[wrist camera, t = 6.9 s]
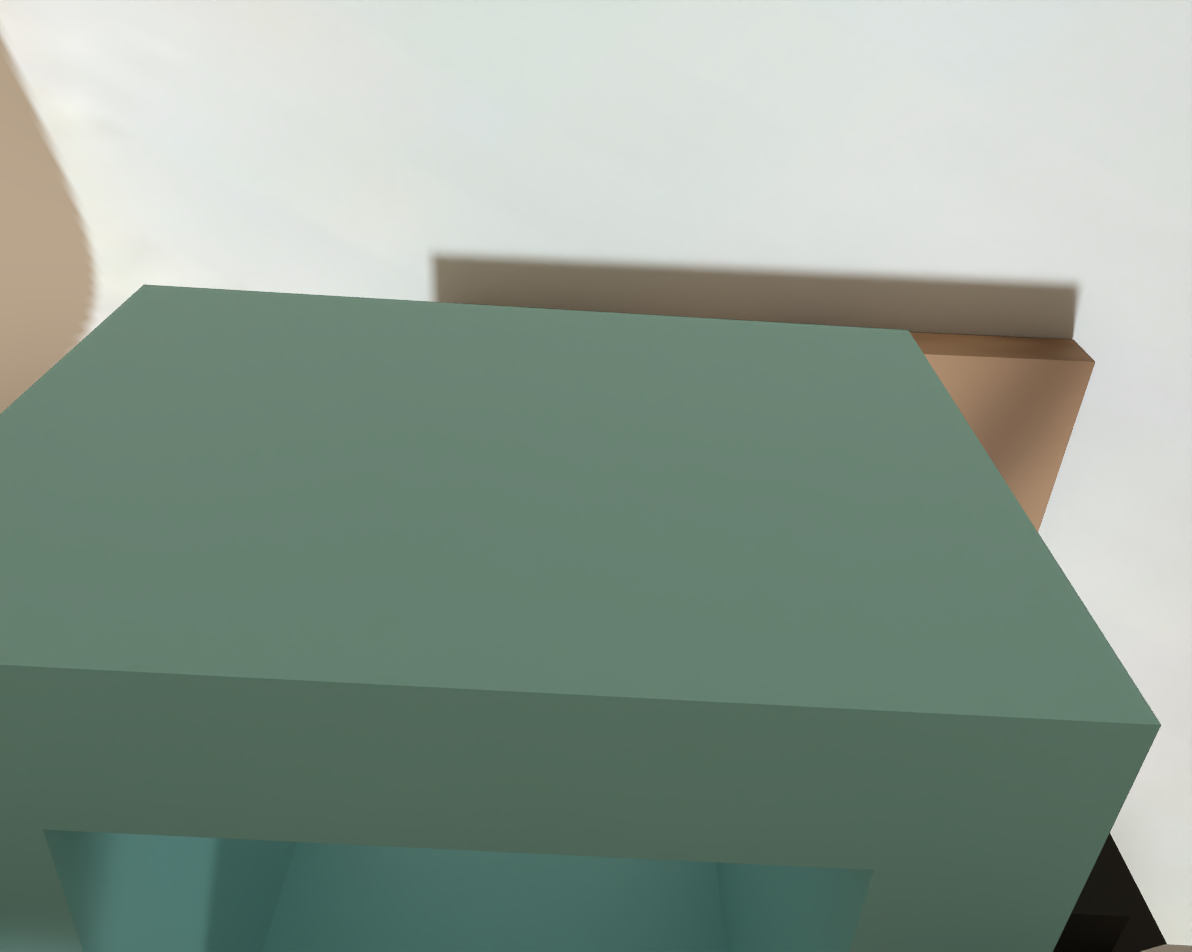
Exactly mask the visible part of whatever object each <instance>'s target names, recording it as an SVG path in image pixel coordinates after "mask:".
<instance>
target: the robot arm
mask: <svg viewBox="0 0 1192 952" xmlns="http://www.w3.org/2000/svg"><path fill="white" fill-rule="evenodd" d="M1053 952H1192V946H1187V945H1169V944H1167V943H1166V941H1165V939H1164V937H1163V935H1162V933H1161V932H1160V930H1159V928H1158V926H1157V924H1156V922H1155V920H1154V918H1153V916H1152V914H1151V912H1150V910H1149V908H1148V906H1147V904H1146V902H1145V900H1144V898H1143V896H1142V895H1141V893H1140V891H1139V889H1138V887H1137V885H1136V883H1135V881H1134V879H1133V877H1132V875H1131V873H1130V871H1129V869H1128V867H1127V865H1126V863H1125V861H1124V860H1123V858H1122V856H1121V854H1120V852H1119V850H1118V848H1117V846H1116V844H1115V842H1114V840H1113V838H1112V836H1111V834H1110V833H1109V835H1108V837H1107V839H1106V841H1105V843H1104V845H1103V848H1102V850H1101V852H1100V854H1099V856H1098V858H1097V860H1096V862H1095V864H1094V866H1093V868H1092V871H1091V873H1090V875H1089V877H1088V879H1087V881H1086V883H1085V885H1084V887H1083V889H1082V891H1081V894H1080V896H1079V898H1078V900H1077V902H1076V904H1075V906H1074V908H1073V910H1072V912H1071V914H1070V917H1069V919H1068V921H1067V923H1066V925H1065V927H1064V929H1063V931H1062V933H1061V935H1060V937H1059V940H1058V942H1057V944H1056V946H1055V948H1054V950H1053Z"/></svg>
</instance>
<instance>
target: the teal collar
mask: <svg viewBox="0 0 1192 952" xmlns="http://www.w3.org/2000/svg"><path fill="white" fill-rule="evenodd" d="M1160 726H1161V724H1160V722H1159V721H1158V719H1157V718H1156V716H1155V715H1154V713H1153V711H1152V710H1151V708H1150V707H1149V705H1148V704H1147V702H1146V701H1145V699H1144V697H1143V696H1142V694H1141V693H1140V691H1139V690H1138V688H1137V686H1136V685H1135V683H1134V682H1133V680H1132V679H1131V677H1130V676H1129V674H1128V672H1127V671H1126V669H1125V668H1124V666H1123V665H1122V663H1121V661H1120V660H1119V658H1118V657H1117V655H1116V654H1115V652H1114V651H1113V649H1112V647H1111V646H1110V644H1109V643H1108V641H1107V640H1106V638H1105V637H1104V635H1103V633H1102V632H1101V630H1100V629H1099V627H1098V626H1097V624H1096V622H1095V621H1094V619H1093V618H1092V616H1091V615H1090V613H1089V612H1088V610H1087V608H1086V607H1085V605H1084V604H1083V602H1082V601H1081V599H1080V597H1079V596H1078V594H1077V593H1076V591H1075V590H1074V588H1073V587H1072V585H1071V583H1070V582H1069V580H1068V579H1067V577H1066V576H1065V574H1064V572H1063V571H1062V569H1061V568H1060V566H1059V565H1058V563H1057V562H1056V560H1055V558H1054V557H1053V555H1052V554H1051V552H1050V551H1049V549H1048V547H1047V546H1046V544H1045V543H1044V541H1043V540H1042V538H1041V537H1040V535H1039V533H1038V532H1037V530H1036V529H1035V527H1034V526H1033V524H1032V522H1031V521H1030V519H1029V518H1028V516H1027V515H1026V513H1025V512H1024V510H1023V508H1022V507H1021V505H1020V504H1019V502H1018V501H1017V499H1016V497H1015V496H1014V494H1013V493H1012V491H1011V490H1010V488H1009V487H1008V485H1007V483H1006V482H1005V480H1004V479H1003V477H1002V476H1001V474H1000V472H999V471H998V469H997V468H996V466H995V465H994V463H993V462H992V460H991V458H990V457H989V455H988V454H987V452H986V451H985V449H984V447H983V446H982V444H981V443H980V441H979V440H978V438H977V437H976V435H975V433H974V432H973V430H972V429H971V427H970V426H969V424H968V422H967V421H966V419H965V418H964V416H963V415H962V413H961V412H960V410H959V408H958V407H957V405H956V404H955V402H954V401H953V399H952V397H951V396H950V394H949V393H948V391H947V390H946V388H945V387H944V385H943V383H942V382H941V380H940V379H939V377H938V376H937V374H936V372H935V371H934V369H933V368H932V366H931V365H930V363H929V362H928V360H927V358H926V357H925V355H924V354H923V352H922V351H921V349H920V347H919V346H918V344H917V343H916V341H915V340H914V338H913V337H912V335H911V333H910V332H909V330H897V329H880V328H864V327H847V326H830V325H813V324H796V323H780V322H763V321H746V320H729V319H712V318H696V317H679V316H662V315H645V314H628V313H611V312H595V311H578V310H561V309H544V308H527V307H511V306H494V305H477V304H460V303H443V302H427V301H410V300H393V299H376V298H359V297H342V296H326V295H309V294H292V293H275V292H258V291H242V290H225V289H208V288H191V287H174V286H158V285H143V286H142V287H141V288H140V289H139V290H137V291H136V292H135V293H134V294H133V295H132V296H131V297H130V298H129V299H128V300H126V301H125V302H124V303H123V304H122V305H121V306H120V307H119V308H118V309H116V310H115V311H114V312H113V313H112V314H111V315H110V316H109V317H108V318H106V319H105V320H104V321H103V322H102V323H101V324H100V325H99V326H98V327H96V328H95V329H94V330H93V331H92V332H91V333H90V334H89V335H88V336H86V337H85V338H84V339H83V340H82V341H81V342H80V343H79V344H78V345H76V346H75V347H74V348H73V349H72V350H71V351H70V352H69V353H68V354H66V355H65V356H64V357H63V358H62V359H61V360H60V361H59V362H58V363H57V364H55V365H54V366H53V367H52V368H51V369H50V370H49V371H48V372H47V373H45V374H44V375H43V376H42V377H41V378H40V379H39V380H38V381H37V382H35V383H34V384H33V385H32V386H31V387H30V388H29V389H28V390H27V391H25V392H24V393H23V394H22V395H21V396H20V397H19V398H18V399H17V400H15V401H14V402H13V403H12V404H11V405H10V406H9V407H8V408H7V409H5V410H4V411H3V412H2V413H1V414H0V952H1053V950H1054V948H1055V946H1056V944H1057V942H1058V940H1059V937H1060V935H1061V933H1062V931H1063V929H1064V927H1065V925H1066V923H1067V921H1068V919H1069V917H1070V914H1071V912H1072V910H1073V908H1074V906H1075V904H1076V902H1077V900H1078V898H1079V896H1080V894H1081V891H1082V889H1083V887H1084V885H1085V883H1086V881H1087V879H1088V877H1089V875H1090V873H1091V871H1092V868H1093V866H1094V864H1095V862H1096V860H1097V858H1098V856H1099V854H1100V852H1101V850H1102V848H1103V845H1104V843H1105V841H1106V839H1107V837H1108V835H1109V833H1110V831H1111V829H1112V827H1113V825H1114V822H1115V820H1116V818H1117V816H1118V814H1119V812H1120V810H1121V808H1122V806H1123V804H1124V802H1125V799H1126V797H1127V795H1128V793H1129V791H1130V789H1131V787H1132V785H1133V783H1134V781H1135V779H1136V776H1137V774H1138V772H1139V770H1140V768H1141V766H1142V764H1143V762H1144V760H1145V758H1146V756H1147V753H1148V751H1149V749H1150V747H1151V745H1152V743H1153V741H1154V739H1155V737H1156V735H1157V733H1158V730H1159V728H1160Z"/></svg>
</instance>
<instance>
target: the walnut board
mask: <svg viewBox="0 0 1192 952" xmlns="http://www.w3.org/2000/svg"><path fill="white" fill-rule="evenodd" d="M910 333H911V335H912V337H913V338H914V340H915V341H916V343H917V344H918V346H919V347H920V349H921V351H922V352H923V354H924V355H925V357H926V358H927V360H928V362H929V363H930V365H931V366H932V368H933V369H934V371H935V372H936V374H937V376H938V377H939V379H940V380H941V382H942V383H943V385H944V387H945V388H946V390H947V391H948V393H949V394H950V396H951V397H952V399H953V401H954V402H955V404H956V405H957V407H958V408H959V410H960V412H961V413H962V415H963V416H964V418H965V419H966V421H967V422H968V424H969V426H970V427H971V429H972V430H973V432H974V433H975V435H976V437H977V438H978V440H979V441H980V443H981V444H982V446H983V447H984V449H985V451H986V452H987V454H988V455H989V457H990V458H991V460H992V462H993V463H994V465H995V466H996V468H997V469H998V471H999V472H1000V474H1001V476H1002V477H1003V479H1004V480H1005V482H1006V483H1007V485H1008V487H1009V488H1010V490H1011V491H1012V493H1013V494H1014V496H1015V497H1016V499H1017V501H1018V502H1019V504H1020V505H1021V507H1022V508H1023V510H1024V512H1025V513H1026V515H1027V516H1028V518H1029V519H1030V521H1031V522H1032V524H1033V526H1034V527H1035V529H1036V530H1037V532H1038V530H1039V528H1040V525H1041V522H1042V519H1043V516H1044V513H1045V510H1046V507H1047V504H1048V501H1049V498H1050V495H1051V492H1052V489H1053V486H1054V483H1055V480H1056V477H1057V474H1058V471H1059V468H1060V465H1061V462H1062V459H1063V456H1064V453H1065V450H1066V447H1067V444H1068V441H1069V438H1070V435H1071V432H1072V429H1073V426H1074V423H1075V420H1076V417H1077V414H1078V412H1079V409H1080V406H1081V403H1082V400H1083V397H1084V394H1085V391H1086V388H1087V385H1088V382H1089V379H1090V376H1091V373H1092V370H1093V367H1094V364H1095V361H1094V360H1093V359H1092V358H1091V357H1090V356H1089V355H1088V354H1087V353H1086V352H1085V351H1084V350H1083V349H1082V348H1081V347H1080V346H1079V345H1078V344H1077V343H1076V342H1075V341H1074V340H1071V339H1049V338H1027V337H1005V336H983V335H961V334H939V333H917V332H910Z"/></svg>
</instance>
